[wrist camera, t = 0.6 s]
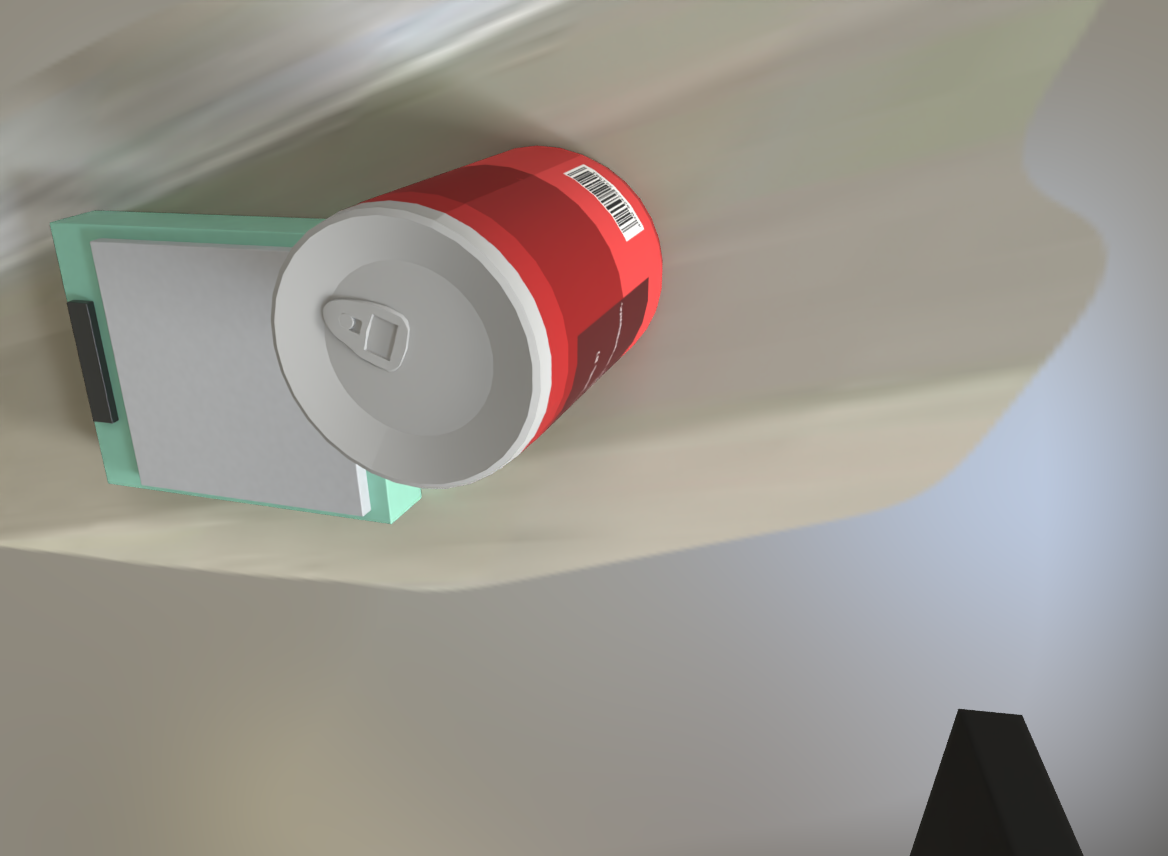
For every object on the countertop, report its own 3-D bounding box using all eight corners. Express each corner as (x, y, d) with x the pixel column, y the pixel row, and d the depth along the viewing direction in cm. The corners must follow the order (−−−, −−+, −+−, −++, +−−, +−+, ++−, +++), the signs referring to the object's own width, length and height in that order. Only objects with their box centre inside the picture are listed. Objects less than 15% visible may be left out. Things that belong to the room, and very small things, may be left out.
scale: (94, 210, 44) (36, 225, 42) (392, 221, 40) (347, 239, 37) (147, 461, 48) (97, 489, 46) (422, 498, 44) (383, 532, 41)
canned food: (453, 129, 38) (255, 187, 28) (680, 154, 35) (547, 227, 26) (454, 343, 41) (276, 460, 31) (662, 380, 38) (538, 519, 29)
